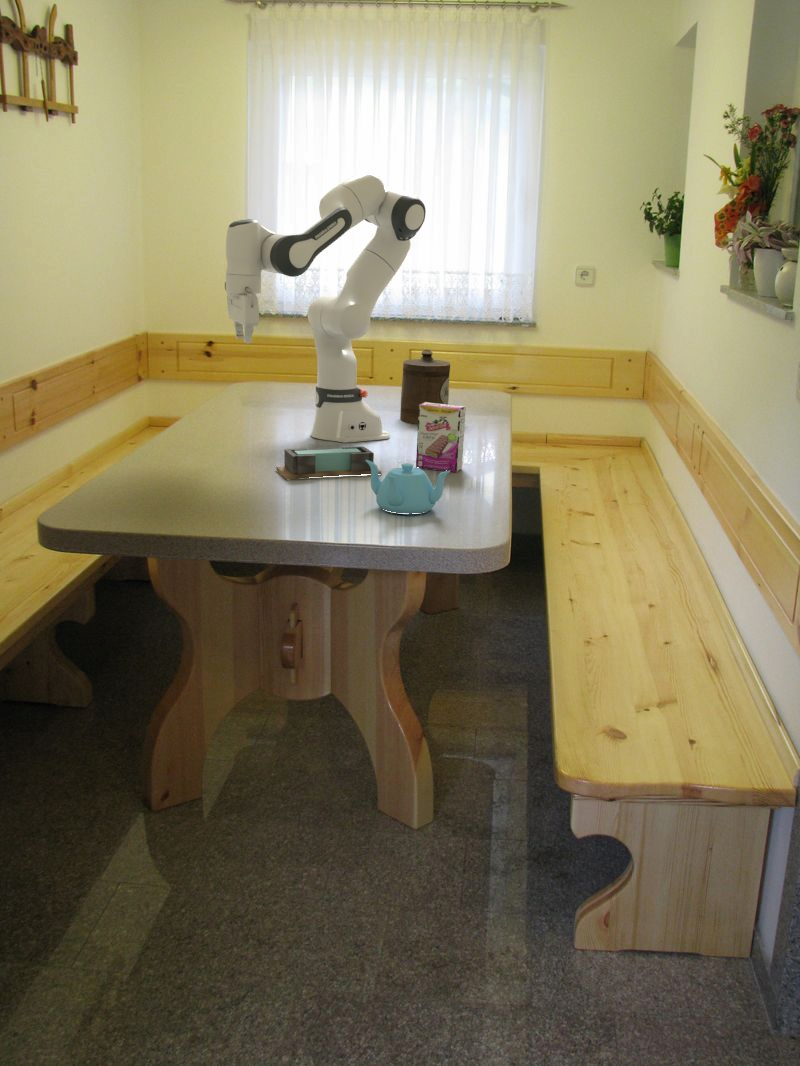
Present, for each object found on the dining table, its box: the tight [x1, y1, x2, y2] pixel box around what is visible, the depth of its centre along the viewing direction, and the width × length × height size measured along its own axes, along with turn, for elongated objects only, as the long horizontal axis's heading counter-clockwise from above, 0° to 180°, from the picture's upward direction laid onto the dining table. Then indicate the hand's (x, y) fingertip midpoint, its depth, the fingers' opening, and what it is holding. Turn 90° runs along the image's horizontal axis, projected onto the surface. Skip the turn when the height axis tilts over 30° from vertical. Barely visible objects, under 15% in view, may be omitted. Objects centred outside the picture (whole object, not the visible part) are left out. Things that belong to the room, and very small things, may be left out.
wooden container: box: [399, 349, 451, 425], centre depth 343 cm, size 15×15×22 cm
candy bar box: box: [415, 402, 466, 473], centre depth 279 cm, size 11×5×16 cm, turn 71°
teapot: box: [366, 460, 451, 514], centre depth 241 cm, size 15×15×10 cm
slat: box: [294, 448, 361, 472], centre depth 271 cm, size 16×4×4 cm, turn 110°
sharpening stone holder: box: [276, 445, 382, 480], centre depth 272 cm, size 24×10×6 cm, turn 110°
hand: (243, 340), depth 284 cm, fingers open, 8 cm apart
